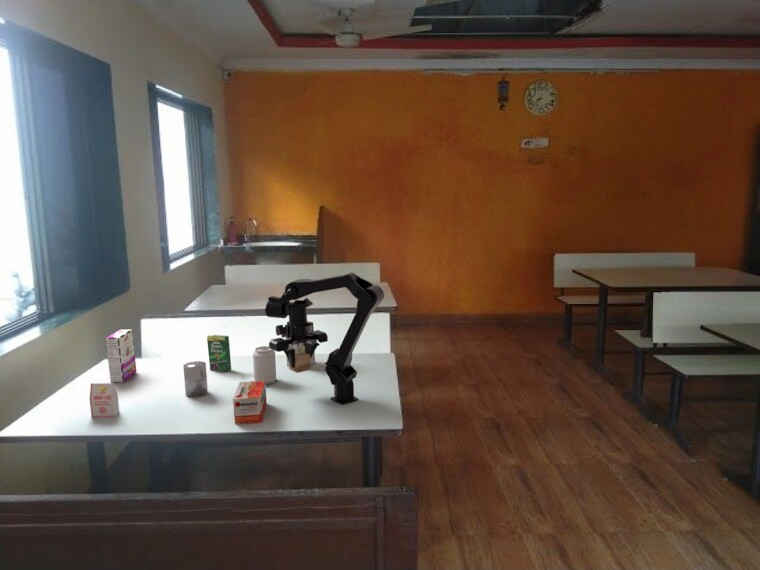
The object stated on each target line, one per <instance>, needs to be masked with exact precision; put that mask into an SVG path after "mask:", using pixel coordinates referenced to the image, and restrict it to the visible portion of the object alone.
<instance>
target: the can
mask: <svg viewBox="0 0 760 570" xmlns="http://www.w3.org/2000/svg"><path fill="white" fill-rule="evenodd" d="M252 358H253V359H252V361H253V378H254V379H253V380H254V381H265V383H266V385H269V384H272V383H274V382H275V381H276V379H277V367H276V366H277V363H276V361H277V360H276V351H275V350H272V349H270V348H269V345H263V346H258V347H255V349H254V351H253V353H252Z"/></svg>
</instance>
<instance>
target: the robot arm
mask: <svg viewBox="0 0 760 570" xmlns="http://www.w3.org/2000/svg"><path fill="white" fill-rule="evenodd" d="M344 288H346V289H347V290H348V291H349V292H350V294H351V295H352V296H353V297H354V298H356V299H357V302H356V310H355V311H356V312H355V314H354V316H353V318H352V321H351V323H350V325H349V327H348V329H347V332H346V333H345V335H344V337H343V340H342V342H341V344H340V345H339V348H338V347H337V348H335V349H334V350H332V351H331V352H329V355H328V357H327V359H326V362H324V365H325V367H324V371H325V372H326V375H327V376H328V378H329V381H330V384H331V385H332V386H333V392H334V396H331V397H330V400H331V401H334V402H335V403H337V404H340V405H346V404H348V403H351V402H356V401H358V400H359V397H356V396H355V389H354V388H355V386H354V385H355V384H354V379H355V378H357V375H358V371H357V369H355V368H354V366H353V365H352V364H351V363H352V360H353V351H354V350H355V347H356V346H357V344H358V341H359V339H360V337H361V335H362V333H363V331H364V329H365V327H366V325H367V322H368V321H369V319H370V317H371V315H372V314H373V313H374V312H375V311H376V309H377V308H378V307H379V305H380V304H381V303H382V302H383V300H384V298H385V293H384V290H383V289H382V288H381V287H380V286H379V285H378V284H377V285H376V284H375V285H374V284H373V283H372V282H370V281H369V280H366V279H364V278H362V277H360V276H359V275H357V274H356V273H355V272H348V273H346V274H341V275H335V276H330V277H325V278H319V279H310V278H299V279H295V280H292V281H289V282H288V283H286V286H285V288H284V291H283V293H282V295H281V297H280V296H275V295H271V296H269V297H268V298H267V299H268V300H267V301H266V305H265V308H264V310H265V311H264V313H265V315H266V317H268V318H275V319H277V318H278V319H286V318H287V317H288V321H287V323H286V325H287V326H286V327H285V326H284V325H283V324H279V325H275V335H276V336H280V337H276V338H272V339H270V341H269V343H268V346H269V348H270V349H272V350H274V351H275V352H280V353H281V352H284V354H285V357H286V356H287V357H286V359H287V358H288V361H289V363H290V366H291V368H294V365H295V349H293V348H292V345H294V344H299V343H303V344H304V346H305V353H307V354H310V360H311V357H312V355H313V353H314V351H315V352H316V349H317V348H318V347H319V346H320V344H321V343H325V342H326V343H327V342H328V341H329V340H328V339H329V337H328V334H327V333H326V331H323V330H320V329H317V330H314V331H311V332H309V334H308V329H307V326H310V325H309V322H310V321H308V309H307V308H309V307H311V306H313V305H314V303H313V302H312V301H311V300H310V299H309V298H308V297H307V296H309V295H312V294H313V293H314V294H315V293H320V292H326V291H331V290H337V289H344ZM304 297H307V298H304ZM302 298H304V299H302ZM307 321H308V322H307ZM285 337H286V338H290V339H288V340H286V339H285Z"/></svg>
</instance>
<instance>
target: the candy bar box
mask: <svg viewBox="0 0 760 570" xmlns="http://www.w3.org/2000/svg"><path fill="white" fill-rule="evenodd" d="M105 344H106V345H105V346H106V352H107V353H106V354H107V360H108V363H107V364H108V370H109V379H110V383H114V384H115V383H118V384H119V383H125V382H126V381H127V380H129V379H130V378H131V377H132V376H134V375H135V374H136V373H137V365H136V364H137V363H136V355H135V346H134V336H133V329H123V328H122V329H119V330H117V331H115V332H114V333H112V334H110V335H109V336H107V337H105Z"/></svg>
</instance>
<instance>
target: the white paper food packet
mask: <svg viewBox="0 0 760 570" xmlns="http://www.w3.org/2000/svg"><path fill="white" fill-rule="evenodd" d="M89 391H90V392H89V406H90V415H91V418H114V417H116V416H117V415H119V413H120V405H119V396H118V395H119V394H118V391H117V389H116V386H115V383H111V382H96V383H94V382H93V383H92V382H91V383H90V390H89Z"/></svg>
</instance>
